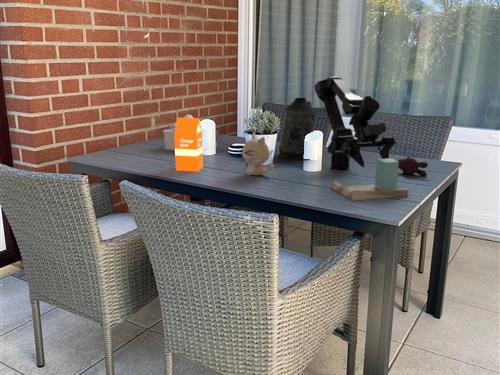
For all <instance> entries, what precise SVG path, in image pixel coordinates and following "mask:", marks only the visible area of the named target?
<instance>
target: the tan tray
mask: <svg viewBox="0 0 500 375" xmlns="http://www.w3.org/2000/svg"><path fill="white" fill-rule="evenodd" d="M331 188H332V189H333V190H335V191H336V192H338V193H339V194H341V195H343V196H345V197H346V198H348V199H350V200H351V201H362V200H363V201H365V200H372V199H373V200H375V199H385V198H387V199H388V198H397V197H408V195H409V194H408V193H409V189H408V188H405V187H404V188H403V187H402V188H396V189H391V190H377V189H375V183H374V184H360V185H351V186H350V185H349V186H344V185H342V184H341V183H339V182H337V181H331Z"/></svg>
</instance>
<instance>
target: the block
mask: <svg viewBox="0 0 500 375" xmlns="http://www.w3.org/2000/svg"><path fill="white" fill-rule="evenodd" d="M396 160H397V159H393V158H390V157H389V159H382V158H378V159H376V170H375V180H374V181H375V183H374V184H375V189H377V190H391V189H398V188H397V185H398V174H399V168H398V165H399V161H396Z"/></svg>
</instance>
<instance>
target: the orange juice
mask: <svg viewBox="0 0 500 375" xmlns="http://www.w3.org/2000/svg"><path fill="white" fill-rule="evenodd" d="M200 121H201V120H200V118H199V117H193V118H184V117H177V120H176V122H177V123H176V129H175V133H174V135H175V150H174V156H175V157H174V159H175V171H177V172H178V171H180V172H182V171H184V172H196V173H197V172H199V171H200V170H201V169H203V168H204V156H203V155H204V150H203V146H202V129H201V125H200Z"/></svg>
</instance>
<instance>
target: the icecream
mask: <svg viewBox="0 0 500 375" xmlns="http://www.w3.org/2000/svg"><path fill="white" fill-rule="evenodd" d="M395 160H396V161H399V165H398V170H399V169H400V170H401V171H402V174H403V175H405V174H406V175H409V176H410V175H414V174H417V175H419V176H421V177H426V176H427V175H428V173H427V172H426V171H425V170H422V169H425V168H427V167H428V166H429V164H428V162H426V161H420V162H419V161H417V159H415V158H413V157H410V156H407V157H406V158H400V159H399V158H398V159H395ZM419 168H421V169H419Z"/></svg>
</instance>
